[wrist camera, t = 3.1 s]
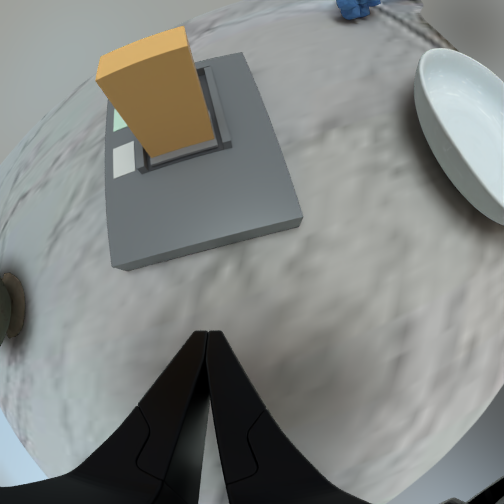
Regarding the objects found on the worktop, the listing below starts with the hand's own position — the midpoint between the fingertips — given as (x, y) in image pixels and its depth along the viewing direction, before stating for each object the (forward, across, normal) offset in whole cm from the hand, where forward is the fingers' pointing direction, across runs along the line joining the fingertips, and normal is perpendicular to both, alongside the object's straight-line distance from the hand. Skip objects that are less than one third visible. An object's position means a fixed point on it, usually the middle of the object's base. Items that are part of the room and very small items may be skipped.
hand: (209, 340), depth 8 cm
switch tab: (+15, +3, -5) cm, 17 cm away
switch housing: (+18, +3, -4) cm, 19 cm away
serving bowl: (+16, -27, -7) cm, 32 cm away
